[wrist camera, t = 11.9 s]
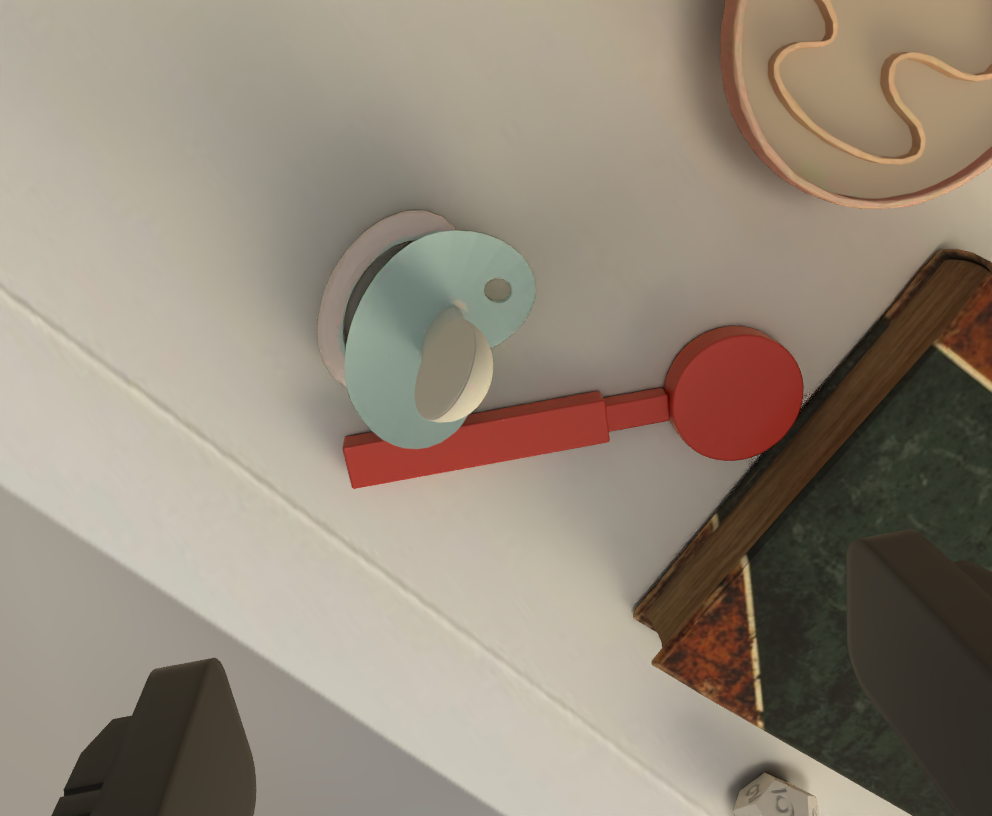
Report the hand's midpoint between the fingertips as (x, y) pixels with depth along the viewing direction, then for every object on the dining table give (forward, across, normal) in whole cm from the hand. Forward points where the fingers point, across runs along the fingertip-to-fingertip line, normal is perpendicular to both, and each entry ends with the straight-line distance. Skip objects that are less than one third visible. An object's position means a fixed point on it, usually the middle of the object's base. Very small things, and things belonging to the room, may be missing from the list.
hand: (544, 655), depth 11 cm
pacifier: (+20, +1, 0) cm, 20 cm away
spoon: (+19, -3, +5) cm, 20 cm away
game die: (+20, -9, +24) cm, 32 cm away
